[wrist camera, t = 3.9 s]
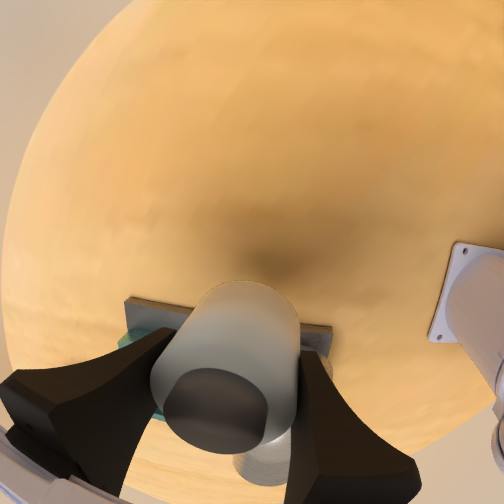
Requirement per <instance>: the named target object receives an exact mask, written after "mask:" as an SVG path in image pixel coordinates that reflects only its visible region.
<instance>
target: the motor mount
mask: <svg viewBox="0 0 504 504" xmlns="http://www.w3.org/2000/svg"><path fill="white" fill-rule="evenodd" d="M124 305H125V313H126V321H127V328H128V332H127V333H126V334H125V335H124V336H123V337H122V338H121V339H120V340H119V341H118V346H119V349H120V348H122V347H124V346H127V345H129V344H131V343H133V342H135V341H136V340H138V339H140V338H142V337H144V336H146V335H148V334H150V333H152V332H154V331H156V330H158V329H160V328H162V327H167V328H171V329H176V330H177V332H178V331H179V329H180V328H181V327H182V325H183V324H184V323H185V321H186V320H187V318H188V317H189V316H190V314H191V313H192V312H193V310H194V309H191V308H186V307H180V306H174V305H169V304H164V303H158V302H153V301H148V300H143V299H138V298H133V297H129V298H128V299H127V300H126V301H125V302H124ZM332 336H333V332H332V327H325V326H315V325H305V324H300V353H301V350H306V351H316V352H317V353H318V355H319V357H320V359H321V361H322V363H323V366H324V368H325V369H326V371H327V373H328V375H329V377H330V379H331V380H332V377H333V369H332V366H331V364H330V362H329V361H328V360H327V356H328V352H329V348H330V344H331V340H332ZM299 358H300V355H299ZM151 418H154V419H158V420H161V421H164V422H166V421H165V418H164V415H163V412H162V411H161V410H160V408H159V407H158V408H157V409H156V411H155V413H154V414H153V416H152V417H151ZM290 455H291V426H290V428H289V429H288V430H287V431H286V432H285V433H284V434H283V435H282V436H280V437H279V438H277V439H275V440H273V441H271V442H269V443H266V444H263V445H259V446H257V447H255V448H254V449H252V450H250V451H247V452H244V453H240V454H233V464H234V467H235V469H236V471H237V472H238V473H239V475H240V476H241V477H243V478H244V479H245V480H247V481H249V482H251V483H253V484H256V485H260V486H278V485H282V484H285V483H287V480H288V473H289V466H290Z"/></svg>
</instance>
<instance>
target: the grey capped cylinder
mask: <svg viewBox="0 0 504 504" xmlns="http://www.w3.org/2000/svg"><path fill="white" fill-rule="evenodd" d="M299 355H300V322H299V318H298V315H297V313H296V311H295V309H294V307H293V306H292V305H291V303H290V302H289V301H288V300H287V299H286V298H285V297H284V296H283V295H282V294H281V293H279V292H278V291H276V290H275V289H273V288H271V287H269V286H267V285H265V284H262V283H259V282H254V281H247V280H237V281H230V282H226V283H223V284H221V285H218V286H216V287H215V288H213V289H211V290H210V291H209V292H208V293H207V294H206V295H205V296H204V297H203V298H202V300H201V301H200V302H199V304H198V305H197V306H196V308H195V309H194V310H193V312H192V313H191V314H190V316H189V317H188V318H187V320H186V321H185V323H184V324H183V325H182V327H181V328H180V329H179V331H178V332H177V333H176V335H175V336H174V338H173V339H172V340H171V342H170V343H169V344H168V346H167V347H166V348H165V350H164V351H163V353H162V354H161V355H160V357H159V358H158V359H157V361H156V362H155V364H154V366H153V368H152V371H151V374H150V388H151V392H152V395H153V398H154V400H155V402H156V404H157V405H158V407H159V408H160V410H161V411H162V412H163V415H164V418H165V421H166V422H167V424H168V426H169V427H170V428H171V429H172V431H173V432H174V433H175V434H176V435H178V436H179V437H180V438H181V439H183V440H184V441H186V442H187V443H189V444H191V445H193V446H195V447H197V448H199V449H202V450H205V451H209V452H213V453H218V454H240V453H244V452H247V451H250V450H252V449H254V448H255V447H257V446H259V445H263V444H266V443H269V442H271V441H273V440H275V439H277V438H279V437H280V436H282V435H283V434H284V433H285V432H286V431H287V430H288V429H289V428H290V426H291V425H292V423H293V421H294V419H295V415H296V410H297V394H298V374H299Z"/></svg>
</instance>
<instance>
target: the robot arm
mask: <svg viewBox="0 0 504 504" xmlns="http://www.w3.org/2000/svg"><path fill="white" fill-rule="evenodd" d="M464 248H466V250H465V252H464V253H463V249H464ZM176 333H177V330H176V329H171V328H167V327H162V328H160V329H158V330H156V331H154V332H152V333H150V334H148V335H146V336H144V337H142V338H140V339H138V340H136V341H135V342H133V343H131V344H129V345H127V346H124V347H122V348H120V349H118V350H116V351H113V352H111V353H109V354H106V355H104V356H101V357H98V358H95V359H92V360H89V361H86V362H82V363H77V364H73V365H69V366H64V367H57V368H49V369H25V370H22V369H17V370H16V371H15V372H13V373H12V374H11V375H10V376H9V377H8V378H7V379H6V380H4V381H3V382H2V383H1V384H0V398H1V400H2V402H3V404H4V406H5V408H6V410H7V412H8V413H9V415H10V417H11V419H12V420H13V422H14V425H13V426H12V427H11V428H10V429H9V430H8V431H7V430H6V429H5V428H3V427H2V426H1V425H0V490H1V491H2V492H3V493H4V494H6V495H7V496H8V497H9V498H10V499H11V500H12V501H14V502H15V503H16V504H132V503H129V502H127V501H124V500H122V499H120V498H119V495H120V492H121V488H122V485H123V482H124V479H125V476H126V473H127V471H128V468H129V465H130V462H131V460H132V457H133V455H134V452H135V450H136V448H137V445H138V443H139V441H140V439H141V436H142V434H143V432H144V430H145V428H146V426H147V424H148V422H149V421H150V419H151V417H152V416H153V414H154V413H155V411H156V409H157V408H158V405H157V404H156V402H155V400H154V398H153V395H152V392H151V388H150V374H151V371H152V368H153V366H154V364H155V362H156V361H157V359H158V358H159V357H160V355H161V354H162V353H163V351H164V350H165V348H166V347H167V346H168V344H169V343H170V342H171V340H172V339H173V338H174V336H175V335H176ZM438 335H440V336H439V337H438V338H437V336H438ZM428 339H429V341H430V342H439V343H460V344H461V346H462V347H463V348H464V350H465V351H466V353H467V354H468V355H469V357H470V358H471V360H472V361H473V362H474V364H475V365H476V367H477V368H478V370H479V371H480V373H481V374H482V375H483V377H484V378H485V380H486V382H487V383H488V385H489V386H490V388H491V389H492V391H493V392H494V394H495V395H496V402H495V404H494V406H493V408H492V409H493V411H494V413H495V415H496V416H497V418H498V420H499V422H498V423H497V425H496V426H495V428H494V431H493V434H492V440H491V447H492V452H493V456H494V459H495V461H496V463H497V465H498V467H499V469H500V470H501V471H502V473H503V474H504V250H500V249H495V248H489V247H484V246H478V245H472V244H467V243H461V242H457V243H456V244H455V245H454V246H453V249H452V254H451V258H450V263H449V267H448V271H447V275H446V279H445V282H444V286H443V290H442V293H441V297H440V300H439V303H438V307H437V310H436V313H435V316H434V319H433V322H432V325H431V328H430V331H429V333H428ZM421 486H422V483H421V479H420V474H419V471H418V468H417V465H416V463H415V460H414V459H413V458H411V457H409V456H407V455H406V454H404V453H402V452H401V451H399V450H397V449H396V448H394V447H393V446H391V445H390V444H388V443H387V442H386V441H384V440H383V439H382V438H380V437H379V436H378V435H377V434H375V433H374V432H373V431H372V430H371V429H370V428H369V427H368V426H367V425H366V424H364V423H363V422H362V421H361V420H360V419H359V417H358V416H357V415H356V414H355V413H354V412H353V411H352V409H351V408H350V407H349V406H348V404H347V403H346V402H345V400H344V399H343V397H342V396H341V395H340V393H339V392H338V390H337V389H336V387H335V385H334V384H333V382H332V380H331V379H330V377H329V375H328V373H327V371H326V369H325V368H324V366H323V363H322V361H321V359H320V357H319V355H318V353H317V352H316V351H306V350H301V353H300V358H299V374H298V394H297V410H296V415H295V419H294V421H293V423H292V425H291V455H290V466H289V473H288V480H287V487H286V493H285V500H284V504H408V503H409V502H410V501H411V500H412V499H413V498H414V497H415V496H416V495H417V494H418V492H419V491H420V490H421Z"/></svg>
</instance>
